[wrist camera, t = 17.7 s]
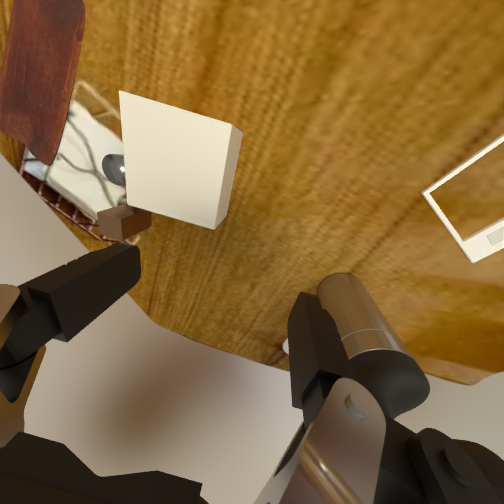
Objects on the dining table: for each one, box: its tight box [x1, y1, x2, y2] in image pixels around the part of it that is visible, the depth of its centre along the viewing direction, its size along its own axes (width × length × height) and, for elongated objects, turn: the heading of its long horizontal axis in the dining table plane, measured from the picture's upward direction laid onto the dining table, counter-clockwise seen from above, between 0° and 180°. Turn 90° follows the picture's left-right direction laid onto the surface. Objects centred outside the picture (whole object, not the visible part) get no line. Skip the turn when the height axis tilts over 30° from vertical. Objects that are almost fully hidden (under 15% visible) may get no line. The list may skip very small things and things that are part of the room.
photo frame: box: [421, 134, 504, 263], centre depth 28 cm, size 15×1×18 cm
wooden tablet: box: [0, 0, 85, 165], centre depth 28 cm, size 27×10×2 cm, turn 137°
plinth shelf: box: [119, 90, 243, 230], centre depth 28 cm, size 14×14×8 cm
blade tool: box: [97, 204, 151, 241], centre depth 31 cm, size 18×4×8 cm, turn 165°
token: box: [102, 154, 126, 186], centre depth 33 cm, size 5×5×2 cm
